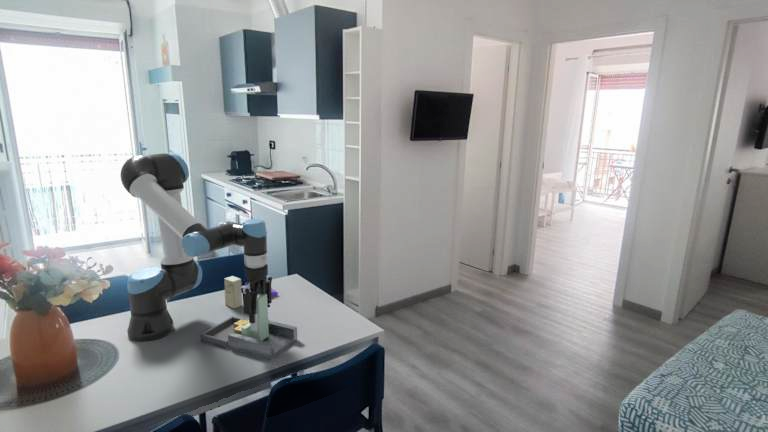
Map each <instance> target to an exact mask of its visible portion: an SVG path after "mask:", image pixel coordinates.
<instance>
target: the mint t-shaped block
mask: <svg viewBox="0 0 768 432" xmlns="http://www.w3.org/2000/svg"><path fill="white" fill-rule="evenodd" d="M256 313H257V318H258V331H257V332H256V331H252V330H251V329H250V323H248V324H246V325H245V326H243V327H242V328H241V332H242V335H243V336H247V337H250V338H254V339H258V340H261V341H262V340H264V339H265V338H267V337H268V336H269V328H268V320H269V307H268V305H267V294H260V293H259V294H258V295H257V298H256Z"/></svg>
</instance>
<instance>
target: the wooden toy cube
mask: <svg viewBox="0 0 768 432" xmlns="http://www.w3.org/2000/svg"><path fill="white" fill-rule="evenodd" d="M243 326H245V325H243V324H241V325H239V326H238V327H236V328H234V333H236V334H240V335H242V332H241V328H242V327H243Z"/></svg>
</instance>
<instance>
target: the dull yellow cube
mask: <svg viewBox="0 0 768 432" xmlns="http://www.w3.org/2000/svg"><path fill="white" fill-rule="evenodd" d="M242 319H243V318H242ZM242 319H241V320H239V321H237V322H236V323H234V328H236V327H238V326H239V325H241V324H243V323H244V322H246V320H247V319H245V320H242Z"/></svg>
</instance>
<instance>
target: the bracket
mask: <svg viewBox="0 0 768 432" xmlns="http://www.w3.org/2000/svg"><path fill="white" fill-rule="evenodd" d="M244 283H245V285H244V286H245V287H246V286H247V282H244ZM245 287H244V288H245ZM271 295H272V298H276V297H278V296H279V293H278V291H277V290H274V289H273V288H272V287H271Z"/></svg>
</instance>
